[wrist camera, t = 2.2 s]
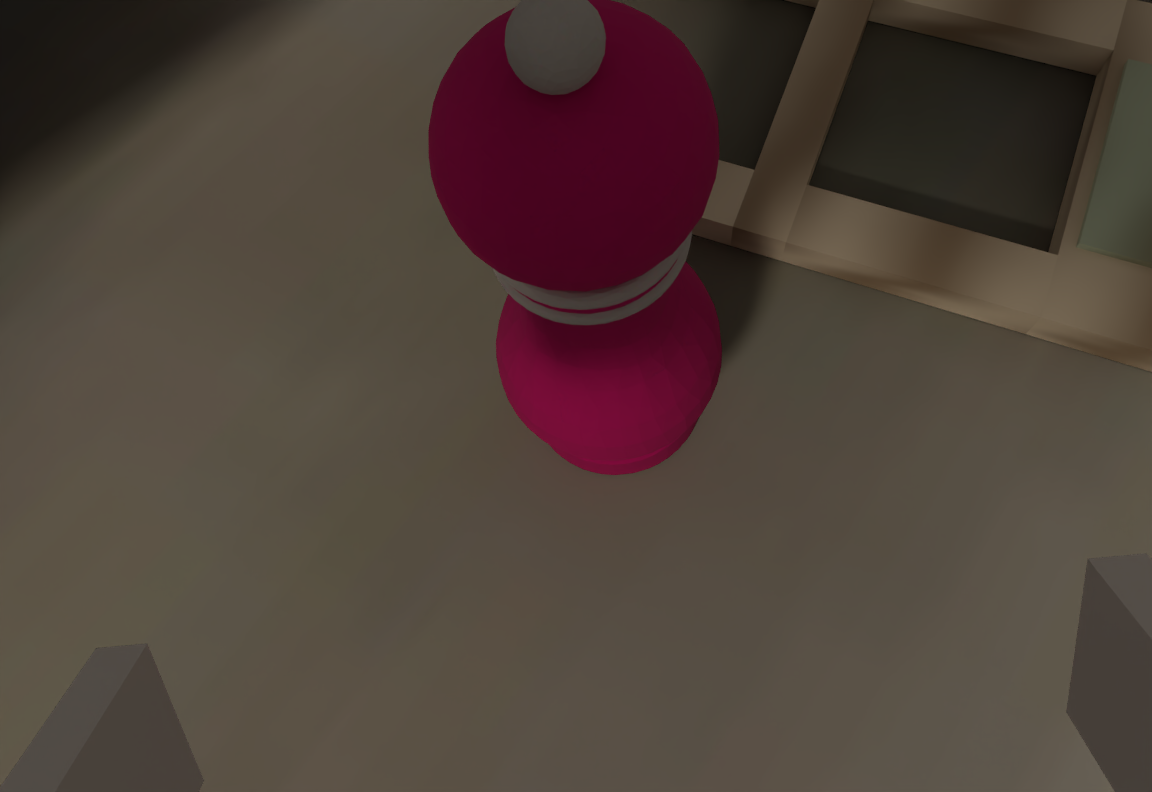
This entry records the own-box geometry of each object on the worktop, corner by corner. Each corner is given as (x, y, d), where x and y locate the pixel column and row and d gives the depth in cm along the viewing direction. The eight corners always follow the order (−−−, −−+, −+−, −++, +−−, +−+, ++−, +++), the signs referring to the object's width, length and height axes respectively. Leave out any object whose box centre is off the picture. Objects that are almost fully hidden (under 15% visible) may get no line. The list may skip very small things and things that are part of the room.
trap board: (492, 174, 38) (483, 148, 36) (615, -90, 42) (613, -124, 40) (1297, 415, 32) (1332, 399, 30) (1358, 82, 36) (1392, 50, 34)
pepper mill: (697, 507, 33) (729, 229, 14) (498, 468, 34) (281, 164, 15) (731, 319, 35) (800, -142, 16) (543, 288, 36) (402, -175, 17)
